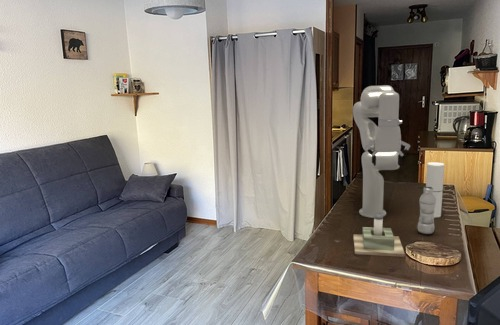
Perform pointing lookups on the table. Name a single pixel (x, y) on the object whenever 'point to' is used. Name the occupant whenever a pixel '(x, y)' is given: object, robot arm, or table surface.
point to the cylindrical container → (436, 183)
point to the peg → (378, 224)
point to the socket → (378, 243)
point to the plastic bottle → (427, 211)
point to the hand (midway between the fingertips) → (386, 165)
